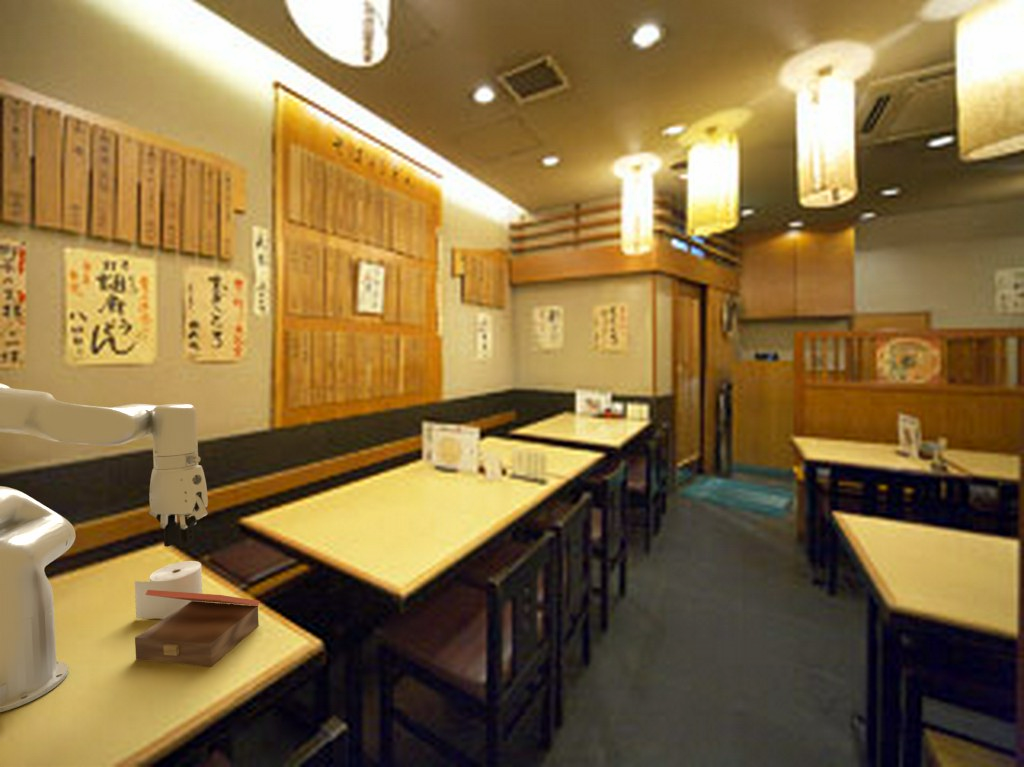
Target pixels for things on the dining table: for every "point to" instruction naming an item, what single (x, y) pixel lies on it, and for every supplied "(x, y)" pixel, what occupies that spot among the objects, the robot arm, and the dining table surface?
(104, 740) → the dining table surface
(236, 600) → the lid
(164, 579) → the toilet tissue
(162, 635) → the walnut box
